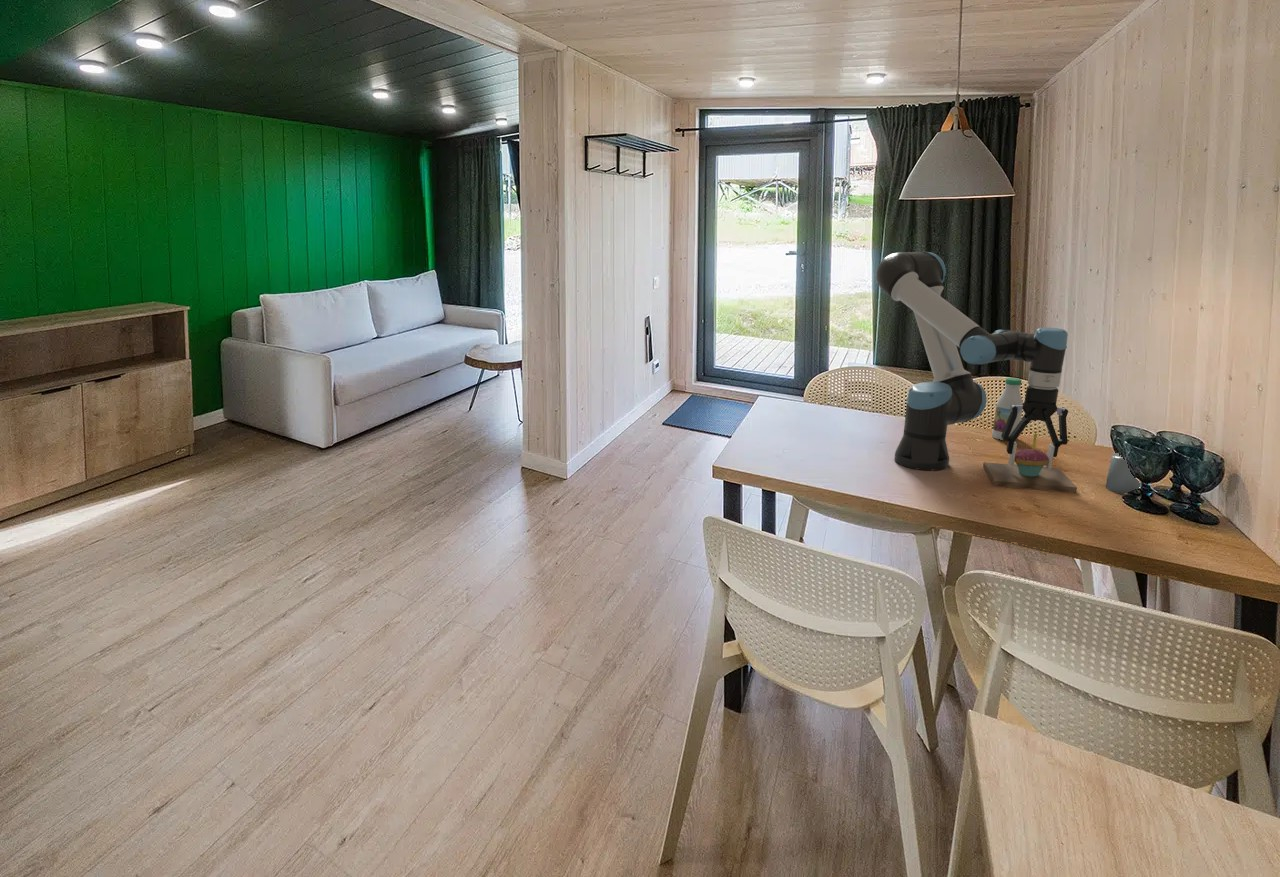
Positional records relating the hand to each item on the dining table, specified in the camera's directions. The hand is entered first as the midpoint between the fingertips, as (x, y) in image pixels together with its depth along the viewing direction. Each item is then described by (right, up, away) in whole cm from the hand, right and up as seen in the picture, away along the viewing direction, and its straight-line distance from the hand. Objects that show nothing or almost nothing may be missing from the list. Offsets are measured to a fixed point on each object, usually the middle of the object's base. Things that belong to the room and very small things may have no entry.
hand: (1029, 466), depth 199 cm
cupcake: (0, -2, +1) cm, 3 cm away
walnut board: (0, -4, +1) cm, 4 cm away
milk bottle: (+13, +8, +39) cm, 42 cm away
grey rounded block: (+22, -6, -6) cm, 23 cm away
